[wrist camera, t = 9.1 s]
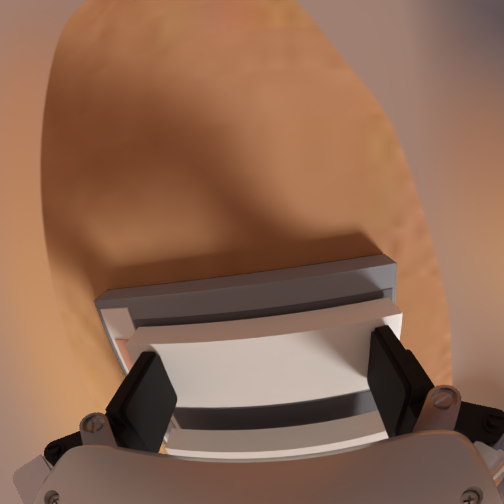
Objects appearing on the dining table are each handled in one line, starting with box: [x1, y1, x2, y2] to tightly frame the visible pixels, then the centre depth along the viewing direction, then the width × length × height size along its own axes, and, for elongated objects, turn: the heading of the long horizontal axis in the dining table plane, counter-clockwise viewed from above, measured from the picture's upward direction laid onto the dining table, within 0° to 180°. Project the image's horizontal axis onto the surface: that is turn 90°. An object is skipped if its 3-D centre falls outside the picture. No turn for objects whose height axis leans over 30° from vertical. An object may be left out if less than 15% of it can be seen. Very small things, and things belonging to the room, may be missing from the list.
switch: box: [125, 297, 403, 407], centre depth 12 cm, size 4×12×2 cm, turn 99°
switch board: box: [94, 254, 397, 444], centre depth 15 cm, size 20×15×2 cm
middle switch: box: [165, 410, 388, 459], centre depth 12 cm, size 4×12×2 cm, turn 99°
